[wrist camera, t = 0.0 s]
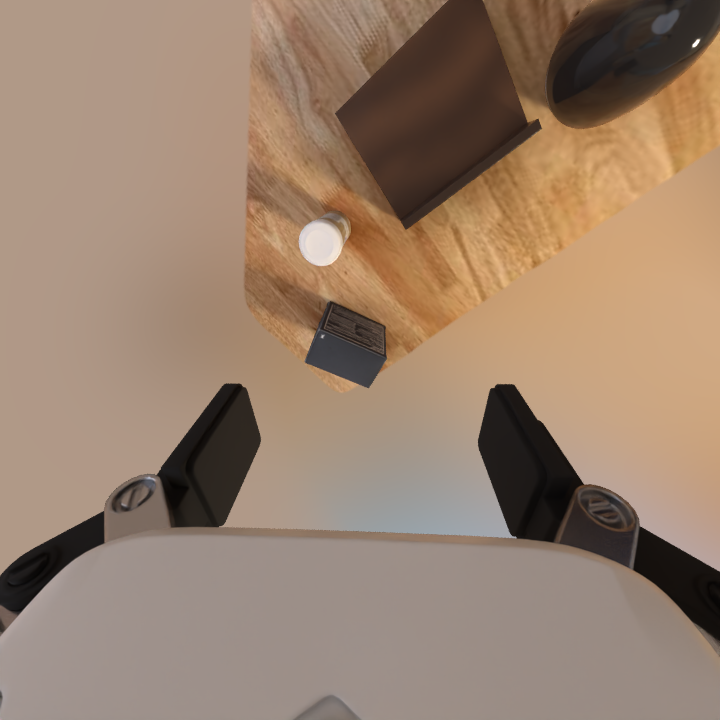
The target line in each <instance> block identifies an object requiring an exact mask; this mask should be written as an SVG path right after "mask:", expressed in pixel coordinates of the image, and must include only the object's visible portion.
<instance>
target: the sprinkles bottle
mask: <svg viewBox="0 0 720 720" xmlns="http://www.w3.org/2000/svg"><path fill="white" fill-rule="evenodd" d="M350 233H351V225H350V221H349V219H348V218H347V217H346V215H345V214H343V213H342V212H340V211H330V212H328V213H326V214H325V215H324V216H322V217H320V218H319V219H317V220H314V221H312V222H310V223H309V224H307V225H306V226H305V227H304V228H303V230H302V231H301V233H300V237H299V247H300V250H301V253H302V255H303V256H304V258H305V259H306V260H307V261H309V262H310V263H312V264H314V265H317V266H326V265H329V264H331V263H333V262H334V261H335V260H336V259H337V258H338V256H339V255H340V253H341V250H342V247H343V245H344V243H345V242H346V240H347V239H348V238H349V235H350Z"/></svg>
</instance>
